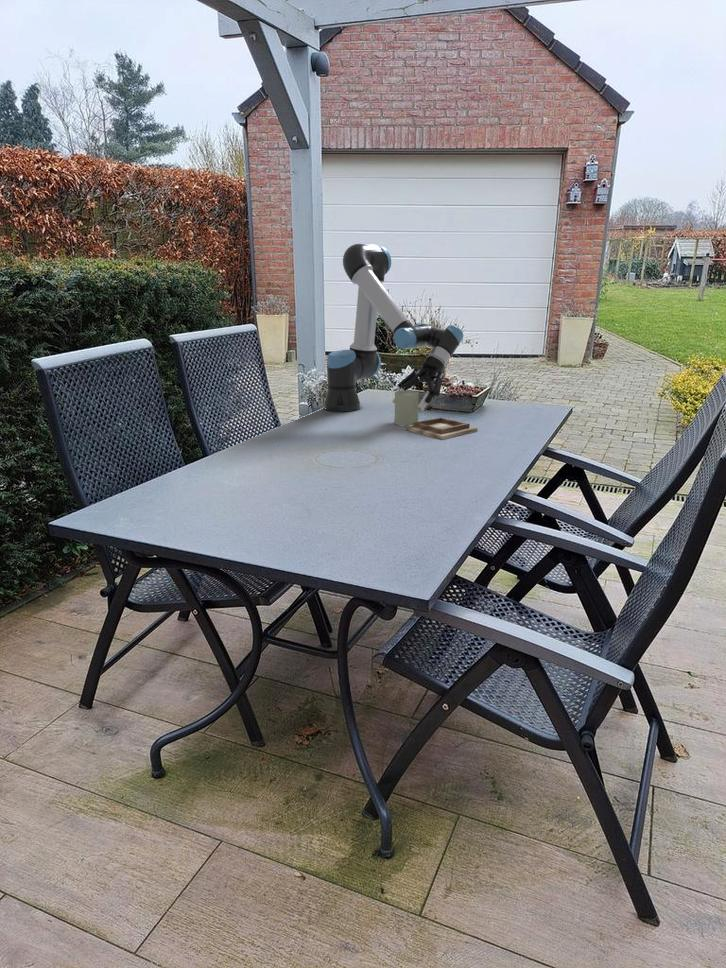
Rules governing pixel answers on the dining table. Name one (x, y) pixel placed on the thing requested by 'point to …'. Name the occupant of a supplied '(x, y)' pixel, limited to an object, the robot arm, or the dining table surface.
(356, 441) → the dining table surface
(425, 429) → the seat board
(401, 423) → the can
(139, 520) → the dining table surface
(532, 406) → the dining table surface
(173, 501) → the dining table surface
